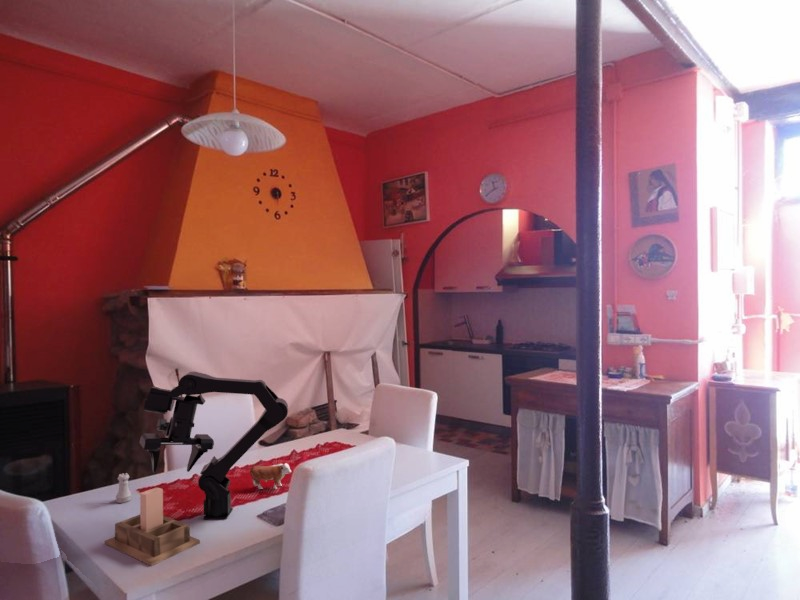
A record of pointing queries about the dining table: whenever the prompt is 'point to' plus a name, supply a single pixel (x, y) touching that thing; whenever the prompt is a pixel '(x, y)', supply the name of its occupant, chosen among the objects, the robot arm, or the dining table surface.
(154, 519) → the tan rectangular block
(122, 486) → the rook chess piece
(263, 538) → the dining table surface
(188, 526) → the wooden compartment tray
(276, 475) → the bull figurine
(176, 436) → the robot arm
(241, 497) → the dining table surface
